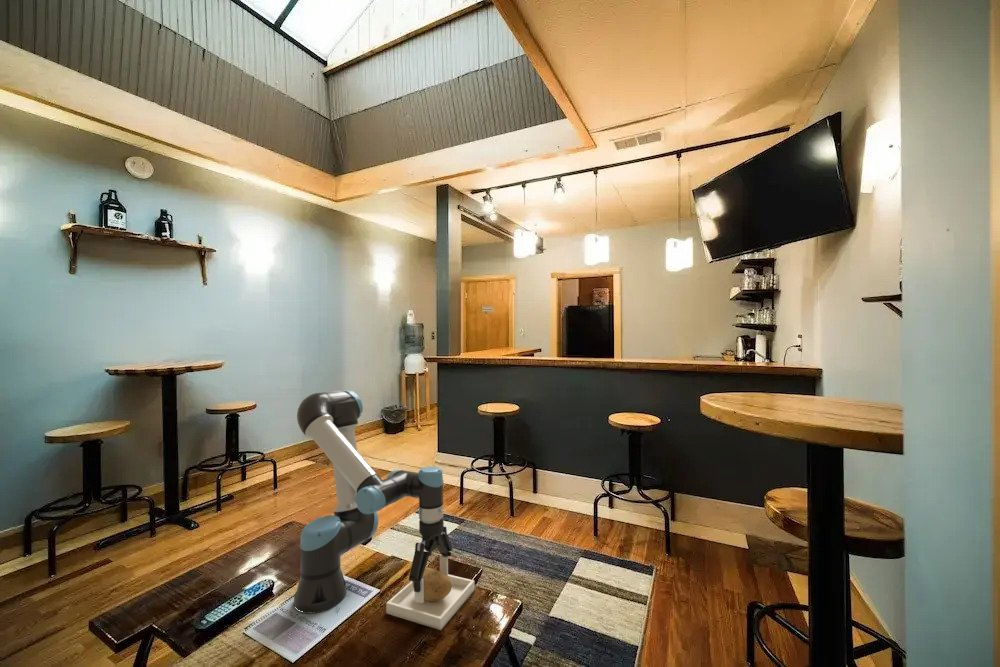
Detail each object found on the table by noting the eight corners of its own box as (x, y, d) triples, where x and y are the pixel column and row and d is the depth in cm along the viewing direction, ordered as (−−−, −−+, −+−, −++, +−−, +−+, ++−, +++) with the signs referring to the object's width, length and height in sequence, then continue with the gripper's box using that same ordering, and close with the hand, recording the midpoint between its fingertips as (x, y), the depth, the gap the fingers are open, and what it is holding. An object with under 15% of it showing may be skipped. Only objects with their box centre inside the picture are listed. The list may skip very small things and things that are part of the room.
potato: (438, 615, 114) (438, 586, 114) (405, 599, 122) (404, 573, 122) (460, 596, 122) (459, 570, 122) (427, 583, 130) (426, 558, 130)
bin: (386, 613, 116) (386, 602, 116) (425, 577, 134) (425, 568, 135) (440, 630, 108) (440, 619, 109) (474, 590, 127) (474, 580, 127)
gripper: (417, 537, 110) (418, 616, 109) (461, 506, 133) (462, 570, 131) (395, 533, 113) (396, 609, 112) (442, 503, 136) (443, 566, 135)
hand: (432, 588), depth 122 cm, fingers open, 13 cm apart
